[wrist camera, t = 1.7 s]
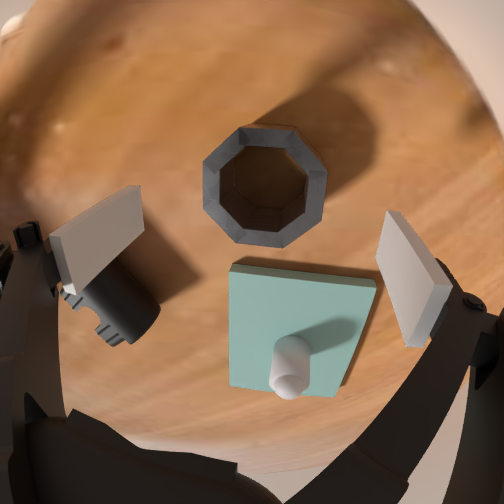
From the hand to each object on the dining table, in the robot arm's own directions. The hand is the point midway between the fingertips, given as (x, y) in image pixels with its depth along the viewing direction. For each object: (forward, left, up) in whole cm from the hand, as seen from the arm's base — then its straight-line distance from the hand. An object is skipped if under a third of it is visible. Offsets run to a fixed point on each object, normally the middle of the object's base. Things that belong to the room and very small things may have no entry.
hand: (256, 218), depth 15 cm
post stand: (+4, -18, -10) cm, 21 cm away
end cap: (-16, -13, -11) cm, 24 cm away
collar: (0, 0, -10) cm, 10 cm away
